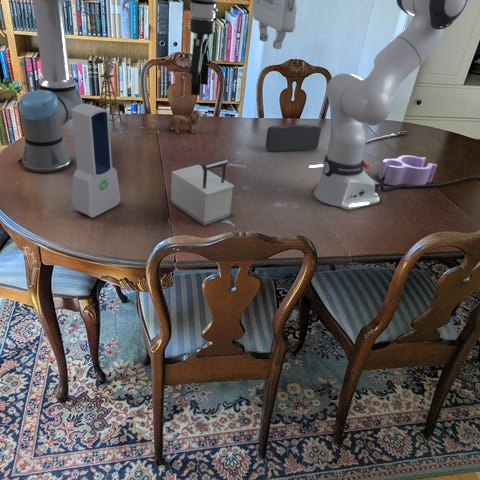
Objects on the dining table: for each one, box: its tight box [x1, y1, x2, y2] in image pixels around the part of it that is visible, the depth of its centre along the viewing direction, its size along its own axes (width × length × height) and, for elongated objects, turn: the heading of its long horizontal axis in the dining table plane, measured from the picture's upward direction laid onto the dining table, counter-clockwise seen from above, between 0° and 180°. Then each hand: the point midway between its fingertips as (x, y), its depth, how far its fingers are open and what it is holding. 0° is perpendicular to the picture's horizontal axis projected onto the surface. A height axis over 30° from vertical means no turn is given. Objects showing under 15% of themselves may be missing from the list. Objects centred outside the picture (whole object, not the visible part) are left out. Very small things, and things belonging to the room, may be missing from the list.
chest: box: [170, 173, 234, 226], centre depth 141 cm, size 16×10×10 cm, turn 42°
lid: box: [171, 158, 235, 196], centre depth 136 cm, size 17×10×8 cm, turn 42°
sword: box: [365, 132, 406, 144], centre depth 214 cm, size 31×3×1 cm, turn 126°
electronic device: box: [70, 103, 122, 218], centre depth 130 cm, size 12×8×30 cm, turn 148°
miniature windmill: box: [94, 51, 124, 130], centre depth 187 cm, size 9×8×30 cm
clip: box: [377, 154, 438, 186], centre depth 174 cm, size 20×12×7 cm, turn 109°
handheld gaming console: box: [264, 124, 322, 152], centre depth 189 cm, size 23×3×10 cm, turn 108°
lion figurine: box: [166, 109, 202, 134], centre depth 195 cm, size 15×5×9 cm, turn 110°
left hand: (199, 89), depth 153 cm, fingers open, 13 cm apart
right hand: (269, 44), depth 123 cm, fingers open, 8 cm apart
